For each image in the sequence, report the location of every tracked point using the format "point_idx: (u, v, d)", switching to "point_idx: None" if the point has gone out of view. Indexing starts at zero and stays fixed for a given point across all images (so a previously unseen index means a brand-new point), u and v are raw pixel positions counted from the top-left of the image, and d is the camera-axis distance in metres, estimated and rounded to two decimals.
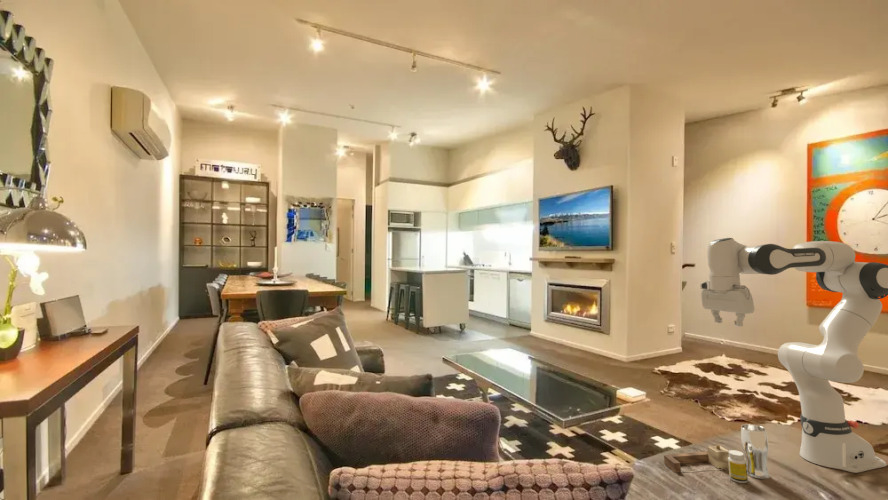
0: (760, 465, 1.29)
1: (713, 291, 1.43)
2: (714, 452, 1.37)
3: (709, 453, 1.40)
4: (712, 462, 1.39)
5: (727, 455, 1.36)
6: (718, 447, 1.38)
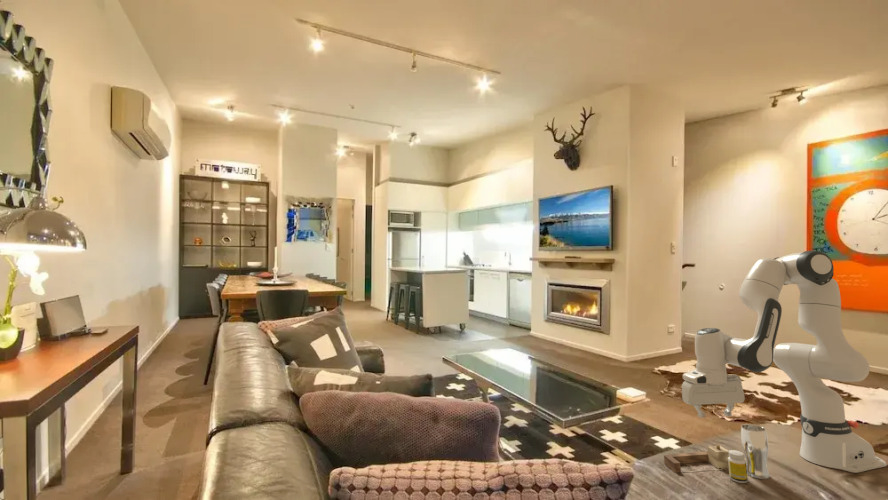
0: (760, 465, 1.29)
1: (707, 384, 1.38)
2: (714, 452, 1.37)
3: (709, 453, 1.40)
4: (712, 462, 1.39)
5: (727, 455, 1.36)
6: (718, 447, 1.38)
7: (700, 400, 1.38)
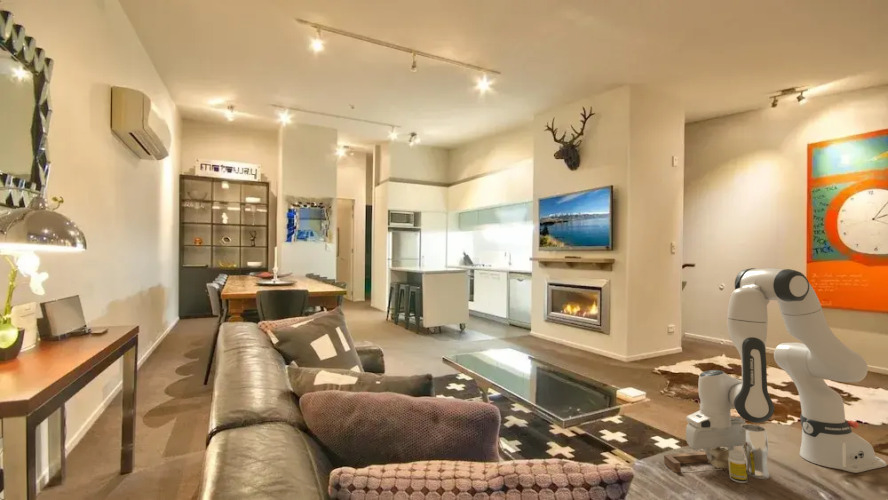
0: (760, 465, 1.29)
1: (712, 428, 1.37)
2: (714, 452, 1.37)
3: None
4: (712, 462, 1.39)
5: (727, 455, 1.36)
6: (718, 447, 1.38)
7: (704, 444, 1.37)
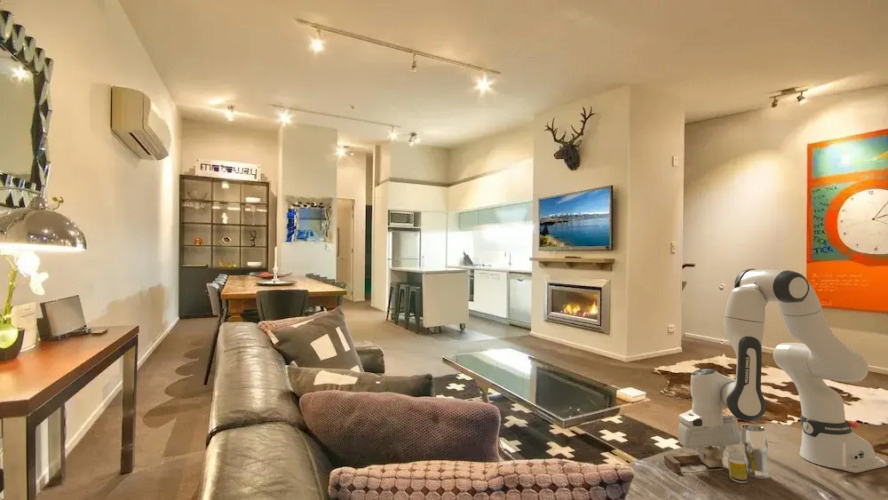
0: (760, 465, 1.29)
1: (703, 427, 1.37)
2: (706, 450, 1.37)
3: None
4: (704, 461, 1.39)
5: (719, 454, 1.36)
6: (710, 446, 1.38)
7: (696, 443, 1.37)
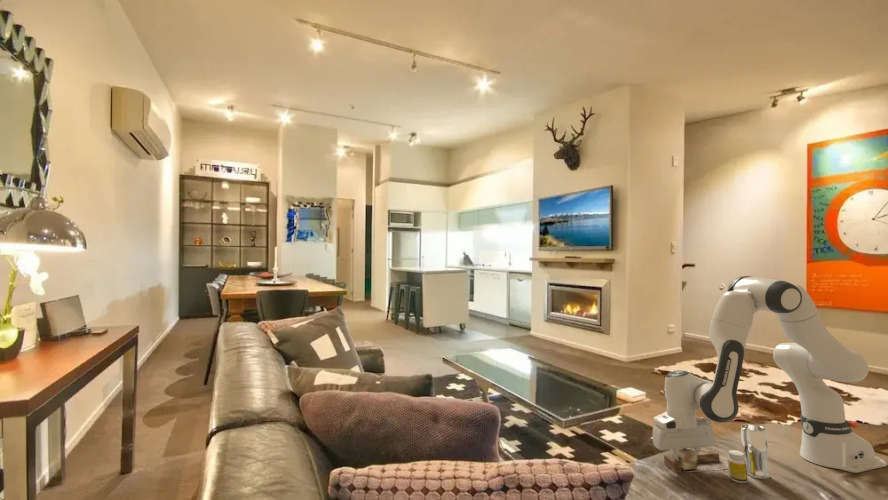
0: (760, 465, 1.29)
1: (677, 429, 1.36)
2: (680, 453, 1.37)
3: None
4: None
5: (693, 456, 1.36)
6: (684, 448, 1.38)
7: (670, 445, 1.36)
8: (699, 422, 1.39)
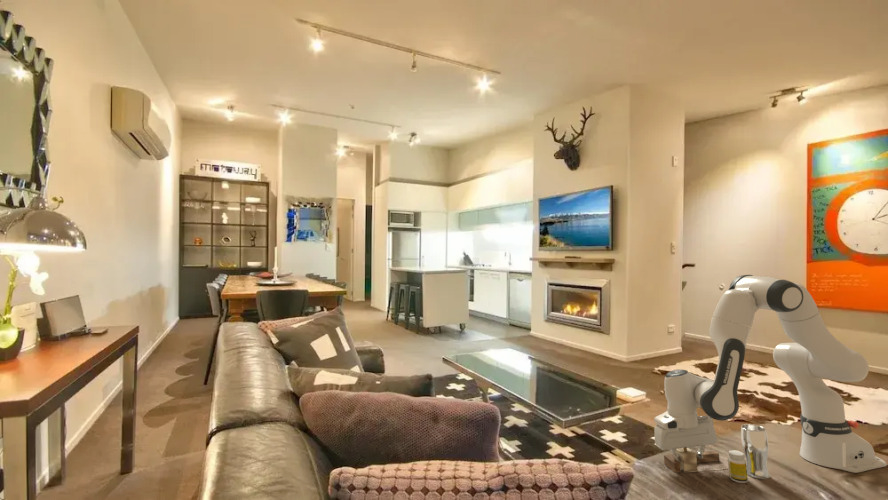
0: (760, 465, 1.29)
1: (679, 428, 1.36)
2: (681, 454, 1.37)
3: None
4: None
5: (694, 457, 1.36)
6: (685, 449, 1.38)
7: (672, 445, 1.36)
8: (700, 420, 1.39)
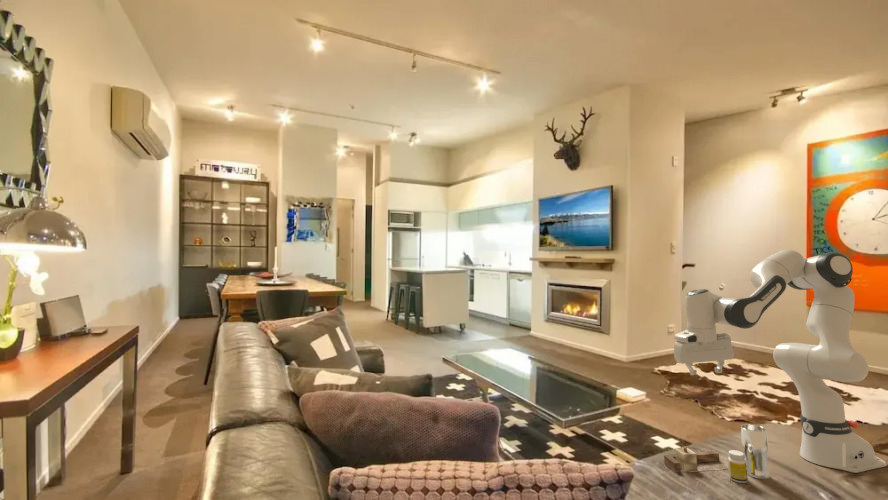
0: (760, 465, 1.29)
1: None
2: (681, 454, 1.37)
3: (676, 455, 1.39)
4: None
5: (694, 457, 1.36)
6: (685, 449, 1.38)
7: (691, 358, 1.42)
8: (718, 337, 1.45)
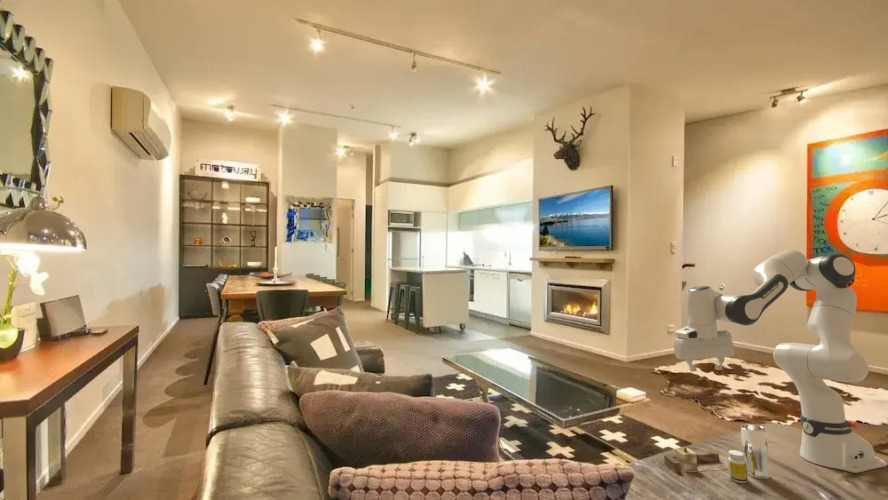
0: (760, 465, 1.29)
1: (698, 339, 1.43)
2: (681, 454, 1.37)
3: (676, 455, 1.39)
4: None
5: (694, 457, 1.36)
6: (685, 449, 1.38)
7: (691, 354, 1.43)
8: (719, 334, 1.45)
